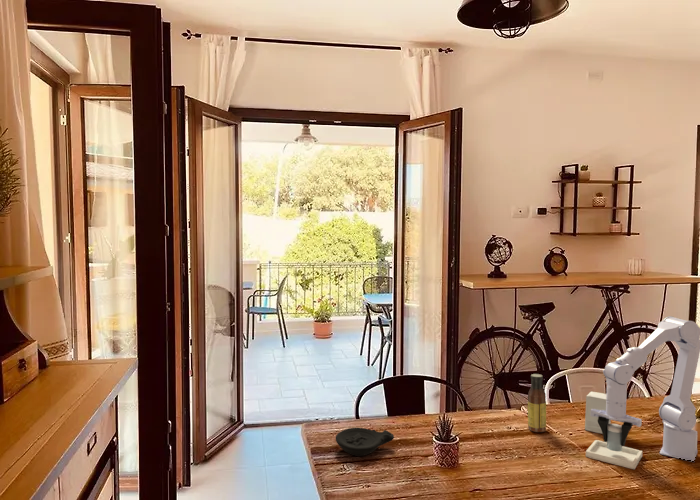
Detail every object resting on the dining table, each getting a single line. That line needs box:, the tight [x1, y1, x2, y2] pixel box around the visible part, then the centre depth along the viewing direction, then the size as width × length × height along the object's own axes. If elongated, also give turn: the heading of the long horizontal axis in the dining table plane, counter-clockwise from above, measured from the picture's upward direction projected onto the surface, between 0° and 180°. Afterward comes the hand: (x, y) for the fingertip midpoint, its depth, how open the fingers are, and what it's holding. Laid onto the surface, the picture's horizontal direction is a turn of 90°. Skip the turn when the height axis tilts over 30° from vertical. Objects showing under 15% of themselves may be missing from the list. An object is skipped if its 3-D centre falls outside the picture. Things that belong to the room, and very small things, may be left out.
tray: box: [585, 439, 643, 470], centre depth 172 cm, size 14×12×2 cm
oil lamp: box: [335, 427, 395, 457], centre depth 174 cm, size 15×20×5 cm
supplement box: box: [584, 391, 612, 435], centre depth 195 cm, size 7×7×13 cm
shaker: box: [607, 423, 622, 451], centre depth 172 cm, size 5×5×7 cm
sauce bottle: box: [527, 373, 547, 433], centre depth 193 cm, size 6×6×20 cm
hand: (614, 443), depth 172 cm, fingers closed on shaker, 4 cm apart
